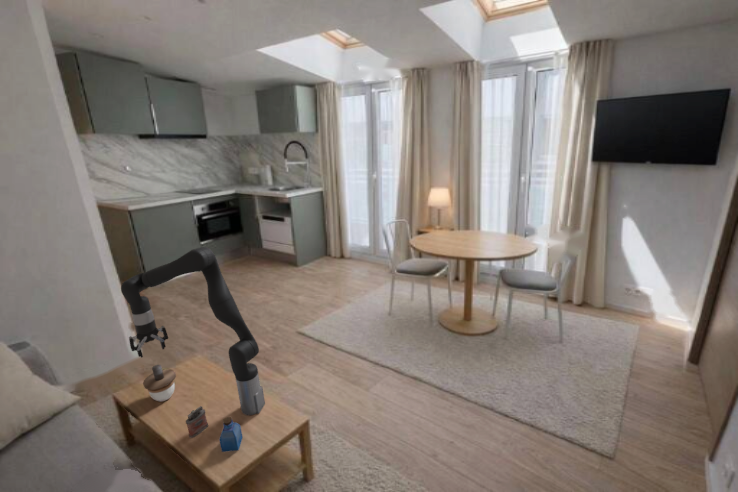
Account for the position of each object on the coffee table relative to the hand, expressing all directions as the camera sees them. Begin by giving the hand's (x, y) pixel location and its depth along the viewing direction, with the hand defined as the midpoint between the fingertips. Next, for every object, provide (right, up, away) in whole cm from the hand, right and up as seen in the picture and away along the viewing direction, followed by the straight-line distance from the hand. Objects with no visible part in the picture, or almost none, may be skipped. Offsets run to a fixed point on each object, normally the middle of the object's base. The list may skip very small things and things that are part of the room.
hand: (152, 352), depth 160 cm
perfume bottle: (+43, -30, -20) cm, 56 cm away
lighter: (+27, -28, -13) cm, 41 cm away
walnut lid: (+1, -14, +5) cm, 15 cm away
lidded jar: (+1, -23, +7) cm, 24 cm away
